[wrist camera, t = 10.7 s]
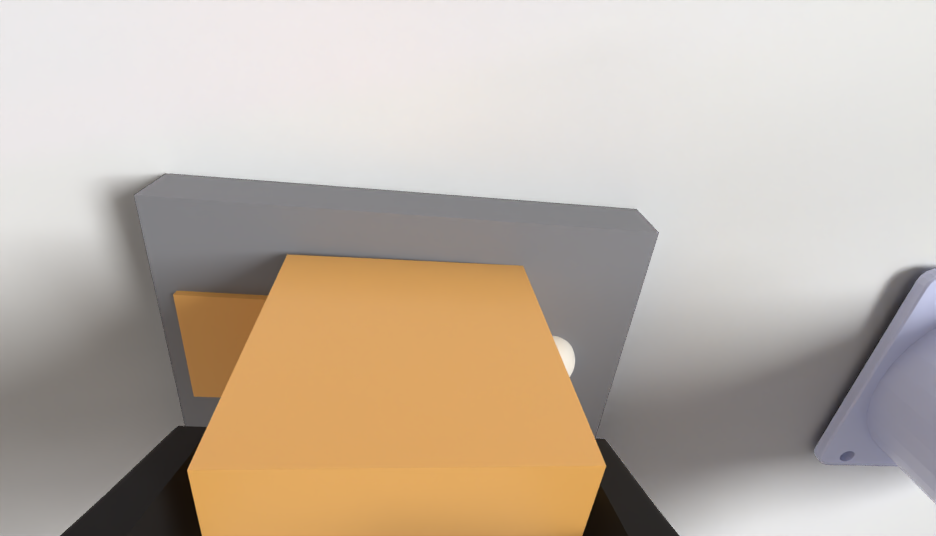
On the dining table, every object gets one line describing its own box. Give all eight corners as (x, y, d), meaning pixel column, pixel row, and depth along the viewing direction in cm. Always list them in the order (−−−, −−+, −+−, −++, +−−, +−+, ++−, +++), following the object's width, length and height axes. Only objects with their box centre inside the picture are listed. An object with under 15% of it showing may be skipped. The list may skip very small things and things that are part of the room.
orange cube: (522, 265, 12) (606, 466, 7) (493, 429, 15) (538, 663, 10) (287, 254, 12) (186, 470, 6) (299, 429, 14) (235, 684, 9)
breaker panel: (636, 209, 14) (672, 247, 11) (522, 617, 23) (530, 677, 21) (166, 173, 12) (113, 208, 10) (249, 620, 22) (230, 684, 20)
